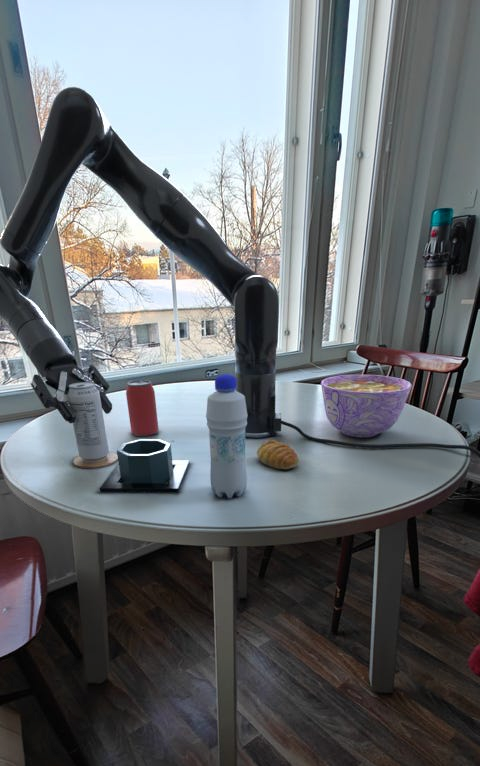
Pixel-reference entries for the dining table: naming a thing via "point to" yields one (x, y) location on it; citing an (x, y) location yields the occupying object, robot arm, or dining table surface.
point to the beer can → (142, 408)
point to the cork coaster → (110, 460)
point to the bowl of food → (364, 403)
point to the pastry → (277, 455)
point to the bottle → (227, 437)
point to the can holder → (146, 468)
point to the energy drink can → (88, 422)
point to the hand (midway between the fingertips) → (92, 415)
